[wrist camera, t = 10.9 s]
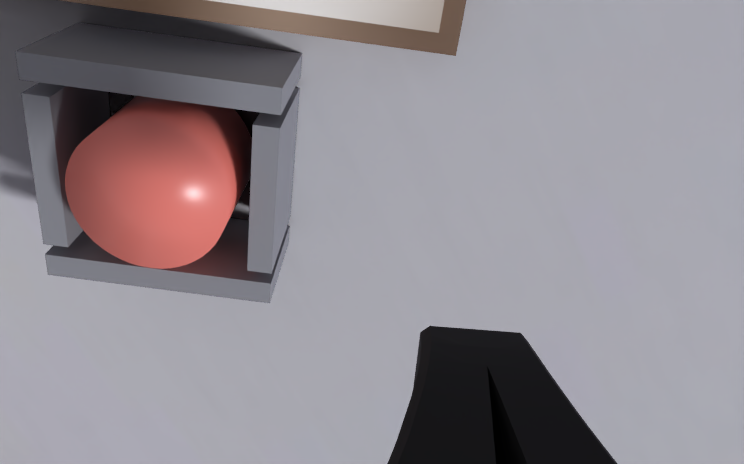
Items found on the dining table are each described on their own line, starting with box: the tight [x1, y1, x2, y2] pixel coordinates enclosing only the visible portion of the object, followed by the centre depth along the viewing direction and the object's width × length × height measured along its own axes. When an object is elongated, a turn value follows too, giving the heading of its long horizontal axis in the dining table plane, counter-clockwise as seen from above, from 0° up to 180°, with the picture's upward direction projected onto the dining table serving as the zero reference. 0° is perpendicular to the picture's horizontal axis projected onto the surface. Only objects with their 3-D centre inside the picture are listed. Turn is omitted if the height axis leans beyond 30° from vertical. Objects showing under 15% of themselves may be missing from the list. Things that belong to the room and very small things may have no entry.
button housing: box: [15, 23, 302, 303], centre depth 16 cm, size 6×6×3 cm
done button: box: [65, 96, 252, 269], centre depth 16 cm, size 4×4×3 cm
